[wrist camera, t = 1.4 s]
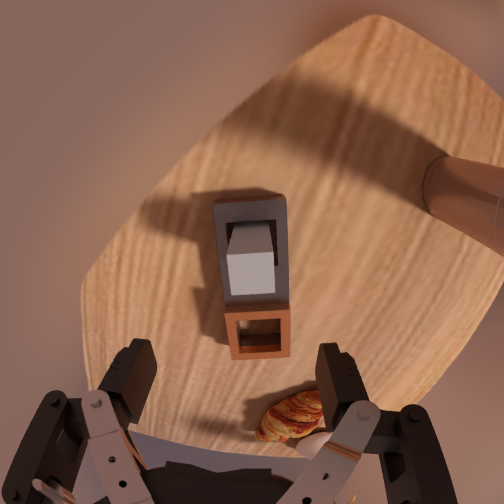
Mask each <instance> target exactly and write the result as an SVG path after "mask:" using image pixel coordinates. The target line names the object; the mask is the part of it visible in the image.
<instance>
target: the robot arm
mask: <svg viewBox="0 0 504 504" xmlns="http://www.w3.org/2000/svg"><path fill="white" fill-rule="evenodd" d="M423 194H424V200H425V204H426V206H427V208H428V210H429V212H430V213H431V214H432V215H433V216H434V217H435V218H437V219H439V220H441V221H443V222H445V223H446V224H448V225H450V226H452V227H454V228H455V229H457V230H459V231H461V232H463V233H464V234H466V235H468V236H470V237H471V238H473V239H475V240H476V241H478V242H480V243H482V244H483V245H485V246H486V247H488V248H490V249H491V250H493V251H495V252H496V253H498V254H499V255H501V256H502V257H504V168H502V167H498V166H493V165H489V164H485V163H480V162H475V161H470V160H465V159H460V158H454V157H441V158H438V159H437V160H435V161H434V162H433V163H432V164H431V165H430V167H429V169H428V170H427V173H426V176H425V179H424V184H423ZM156 372H157V362H156V359H155V355H154V352H153V349H152V345H151V342H150V340H147V339H137V338H134V339H133V340H132V342H131V344H130V346H129V348H127V347H124V348H123V349H122V350H121V351H119V352H118V353H117V355H116V356H115V358H114V360H113V362H112V364H111V365H110V368H109V369H108V371H107V373H106V374H105V376H104V378H103V380H102V382H101V384H100V385H99V387H98V389H97V390H92V391H90V392H88V393H86V394H85V395H84V397H83V398H72V399H71V398H70V399H69V398H67V397H66V395H65V394H64V393H63V392H62V391H59V390H55V391H51V392H49V393H48V394H46V396H45V397H44V398H43V400H42V402H41V404H40V406H39V408H38V409H37V411H36V413H35V415H34V417H33V419H32V421H31V423H30V425H29V427H28V429H27V431H26V433H25V435H24V437H23V439H22V441H21V443H20V445H19V448H18V450H17V452H16V454H15V457H14V459H13V461H12V464H11V466H10V468H9V471H8V474H7V476H6V479H5V481H4V484H3V487H2V497H3V500H4V501H5V503H6V504H76V500H75V498H74V496H73V494H72V491H73V488H74V484H75V481H76V478H77V474H78V471H79V468H80V465H81V462H82V459H83V456H84V453H85V450H86V447H87V444H88V445H89V448H90V451H91V454H92V457H93V460H94V463H95V466H96V469H97V471H98V474H99V476H100V479H101V481H102V484H103V486H104V489H105V491H106V493H107V496H106V497H104V498H102V499H100V500H99V501H97V502H95V503H94V504H332V502H333V501H334V500H335V498H336V497H337V495H338V494H339V492H340V491H341V489H342V488H343V486H344V485H345V483H346V481H347V480H348V478H349V477H350V475H351V473H352V472H353V470H354V468H355V467H356V465H357V463H358V461H359V460H360V458H361V454H362V453H370V454H379V459H380V463H381V468H382V473H383V478H384V483H385V489H386V495H387V501H388V504H458V503H457V498H456V495H455V491H454V487H453V484H452V481H451V477H450V474H449V471H448V468H447V465H446V461H445V458H444V456H443V453H442V450H441V447H440V444H439V441H438V439H437V436H436V433H435V431H434V428H433V425H432V423H431V421H430V418H429V416H428V413H427V411H426V410H425V409H424V408H423V407H421V406H419V405H415V404H411V405H407V406H405V407H403V408H402V409H401V411H400V412H396V411H385V410H381V409H379V408H378V406H377V405H376V404H374V403H373V402H370V400H369V398H368V395H367V392H366V389H365V387H364V384H363V381H362V379H361V376H360V373H359V371H358V369H357V365H356V363H355V360H354V359H353V358H352V357H351V356H350V355H349V354H348V353H347V352H344V353H340V350H339V348H338V345H337V343H336V342H335V343H321V344H320V346H319V351H318V356H317V362H316V368H315V376H316V382H317V386H318V391H319V396H320V401H321V406H322V411H323V416H324V421H325V426H326V431H327V433H330V432H333V434H332V435H331V437H330V438H329V440H328V441H327V442H325V443H324V444H323V446H322V447H321V448H320V450H319V451H318V453H317V454H316V455H315V457H314V458H313V459H312V461H311V462H310V464H309V465H308V466H307V468H306V469H305V470H304V471H303V472H302V474H301V475H300V476H299V478H298V479H297V480H296V481H295V482H293V481H291V480H289V479H287V478H284V477H282V476H278V475H273V474H271V469H239V470H234V471H227V472H220V473H216V472H212V471H209V470H206V469H203V468H200V467H197V466H194V465H191V464H183V463H177V462H170V461H166V466H165V467H157V468H153V469H150V470H149V468H148V467H147V465H146V464H145V462H144V461H143V459H142V457H141V455H140V453H139V451H138V449H137V447H136V445H135V443H134V441H133V438H132V436H131V434H130V432H129V430H128V425H129V423H134V424H138V422H139V419H140V416H141V413H142V411H143V408H144V405H145V402H146V400H147V397H148V394H149V391H150V389H151V386H152V383H153V381H154V378H155V376H156ZM61 431H62V433H61ZM60 434H61V435H60ZM59 436H60V437H59ZM58 438H59V440H58ZM57 441H58V442H57ZM56 444H57V445H56Z"/></svg>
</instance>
